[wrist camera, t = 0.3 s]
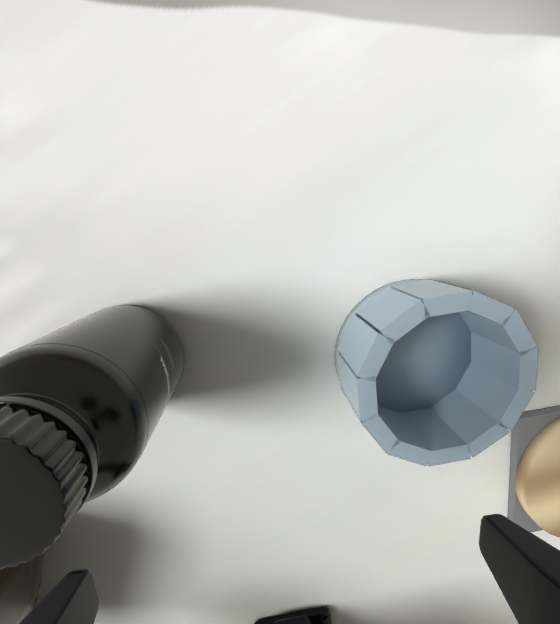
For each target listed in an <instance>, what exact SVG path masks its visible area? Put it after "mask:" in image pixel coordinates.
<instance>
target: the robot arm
mask: <svg viewBox="0 0 560 624" xmlns="http://www.w3.org/2000/svg"><path fill="white" fill-rule="evenodd" d="M479 546H480V550H481V553H482V555H483V557H484V559H485V561H486V563H487V565H488V567H489V568H490V570H491V572H492V574H493V576H494V578H495V580H496V582H497V583H498V585H499V587H500V589H501V591H502V593H503V595H504V597H505V599H506V600H507V602H508V604H509V606H510V608H511V610H512V612H513V614H514V616H515V617H516V619H517V621H518V623H519V624H560V551H559V550H558V549H556V548H555V547H553V546H551V545H550V544H548V543H546V542H545V541H543V540H542V539H540V538H538V537H537V536H535V535H534V534H532V533H530V532H529V531H527V530H526V529H524V528H522V527H521V526H519V525H518V524H516V523H514V522H513V521H511V520H510V519H508V518H506V517H505V516H503V515H500V514H493V515H486V516H483V518H482V519H481V527H480V537H479ZM98 604H99V596H98V591H97V588H96V584H95V580H94V577H93V573H92V571H91V570H90V569H83V570H76V571H72V572H70V573H68V574H67V575H66V576H65V577H64V578H63V579H62V580H61V581H60V582H59V583H58V584H57V585H56V586H55V587H54V588H53V589H52V590H51V591H50V592H49V593H48V594H47V595H46V596H45V597H44V598H43V599H42V600H41V601H40V602H39V603H38V604H37V605H36V606H35V607H34V608H33V609H32V610H31V611H30V612H29V613H28V614H27V615H26V616H25V617H24V618H23V619H22V621H21V622H20V623H19V624H94V621H95V617H96V614H97V610H98ZM254 624H332V622H331V616H330V611H329V609H328V608H319V609H314V610H309V611H305V612H300V613H295V614H290V615H285V616H280V617H275V618H270V619H265V620H261V621H257V622H255V623H254Z"/></svg>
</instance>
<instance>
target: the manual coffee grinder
mask: <svg viewBox="0 0 560 624" xmlns="http://www.w3.org/2000/svg"><path fill="white" fill-rule="evenodd" d="M42 561H43V554H42V555H39V556H35V557H34V558H33V559H32V560H31V561H30V562H24V563H20V564H19V565H17V566H16V567H5V568H3V569H1V570H0V624H19V623H20V622H21V621H22V619H23V618H24V617H25V616H26V615H27V614H28V613H29V612H30V611H31V610H32V609H33V608H34V605H35V601H36V598H37V594H38V591H39V587H40V578H41V570H42Z"/></svg>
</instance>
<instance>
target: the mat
mask: <svg viewBox="0 0 560 624" xmlns="http://www.w3.org/2000/svg"><path fill="white" fill-rule="evenodd" d="M559 416H560V406H555V407H549V408H544V409H538V410H533V411H527V412H522V414H521V416H520V417H519V419H518V421H517V422H516V424H515V426H514V427H513V429H512V435H511V457H510V478H509V500H508V519H510V520H511V521H513V522H514V523H516V524H518V525H519V526H521V527H522V528H524V529H526V530H527V531H529V532H535V531H540V530H543V529H542V528H541V527H540V526H538V525H537V524H536V522H535V521H534V520H533V519H532V518H531V517H530V516H529V515H528V514H527V513H526V512H525V511H524V510H523V509H522V507H521V506H520V504H519V502H518V500H517V497H516V493H515V488H514V479H515V472H516V469H517V465H518V462H519V460H520V458H521V455H522V454H523V452H524V450H525V448H526V447H527V445H528V444H529V443H530V441H531V440H532V439H533V438H534V437H535V435H536V434H537V433H538V432H539V431H540V430H541V429H542V428H544V427H545V426H546V425H547V424H548V423H550V422H551V421H552V420H554V419H556V418H557V417H559Z"/></svg>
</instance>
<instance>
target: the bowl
mask: <svg viewBox="0 0 560 624" xmlns="http://www.w3.org/2000/svg"><path fill="white" fill-rule="evenodd" d="M536 346H537V343H536V342H535V340H534V338H533V337H532V335H531V333H530V331H529V330H528V328H527V326H526V324H525V323H524V321H523V319H522V318H521V316H520V314H519V312H518V311H517V310H515V308H513V307H511V306H508V305H506V304H504V303H501V302H499V301H497V300H494V299H492V298H490V297H487V296H485V295H483V294H480V293H478V292H476V291H472V290H469V289H465V288H461V287H457V286H454V285H450V284H446V283H442V282H438V281H435V280H415V279H411V280H402V281H397V282H393V283H390V284H387V285H385V286H382V287H380V288H378V289H376V290H375V291H373V292H372V293H370V294H369V295H367V296H366V297H365V298H363V299H362V300H361V301H360V302H359V303H358V304H357V305H356V306H355V307H354V308H353V309H352V311H351V312H350V313H349V315H348V316H347V318H346V319H345V321H344V323H343V325H342V327H341V329H340V332H339V335H338V338H337V342H336V347H335V365H336V371H337V375H338V378H339V380H340V384H341V388H342V390H343V392H344V394H345V396H346V397H347V399H348V401H349V403H350V404H351V406H352V408H353V409H354V411H355V413H356V415H357V416H358V418H359V420H360V422H361V423H362V425H363V426H364V427H365V428H366V430H367V431H368V432H369V433H370V434H371V436H372V437H373V438H374V439H375V440H376V442H377V443H378V444H379V445H380V446H381V448H382V449H383V450H384V451H385V452H386V453H388V455H391V456H394V457H398V458H401V459H404V460H407V461H411V462H414V463H417V464H420V465H423V466H426V465H428V466H434V465H439V464H445V463H450V462H455V461H461V460H466V459H470V455H471V456H472V457H475V456H476V455H478V454H479V453H480V452H482V451H483V450H485V449H486V448H488V447H489V446H491V445H492V444H493V443H495V442H496V441H498V440H499V439H501V438H502V437H504V436H505V435H507V434H508V433H509V431H508V429H510V430H512V429H513V427H514V426H515V424H516V422H517V421H518V419H519V417H520V416H521V414H522V412H523V411H524V409H525V408H526V406H527V404H528V403H529V401H530V399H531V398H532V396H533V394H534V392H532V390H536V375H537V359H538V348H537V347H536Z"/></svg>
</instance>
